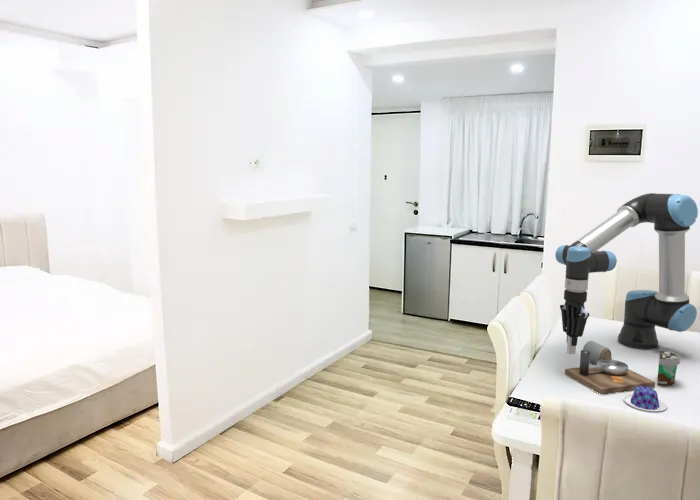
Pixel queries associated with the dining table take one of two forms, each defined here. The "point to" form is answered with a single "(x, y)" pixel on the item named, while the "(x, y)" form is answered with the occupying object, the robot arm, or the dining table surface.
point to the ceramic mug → (597, 351)
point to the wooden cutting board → (610, 381)
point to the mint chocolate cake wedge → (667, 367)
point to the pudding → (645, 399)
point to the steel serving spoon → (601, 365)
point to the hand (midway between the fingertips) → (570, 353)
